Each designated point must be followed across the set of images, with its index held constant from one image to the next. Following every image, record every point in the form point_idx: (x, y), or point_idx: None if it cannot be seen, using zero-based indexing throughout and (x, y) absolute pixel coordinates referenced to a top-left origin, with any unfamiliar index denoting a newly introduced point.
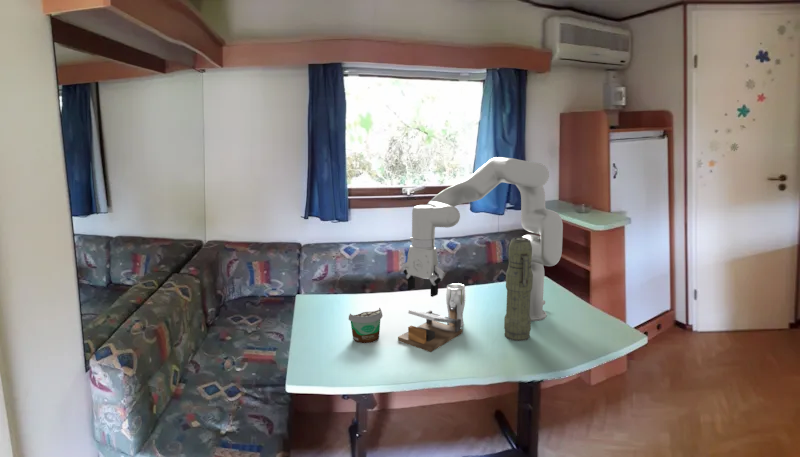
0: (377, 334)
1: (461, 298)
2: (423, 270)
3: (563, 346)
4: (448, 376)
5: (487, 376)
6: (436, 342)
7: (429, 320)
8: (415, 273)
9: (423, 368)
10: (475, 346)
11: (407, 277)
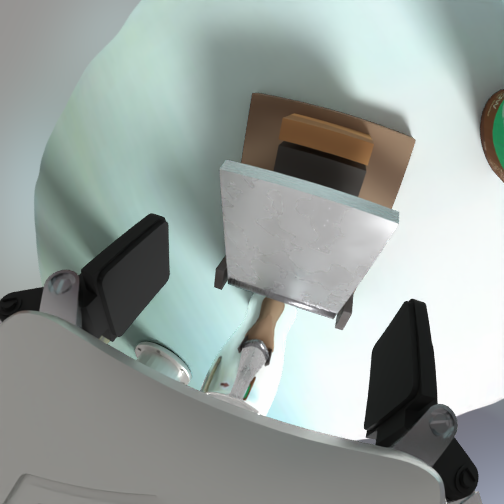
0: (488, 127)
1: (212, 364)
2: (12, 443)
3: (68, 258)
4: (148, 4)
5: (86, 67)
6: (254, 145)
7: None
8: (240, 474)
9: None
10: (164, 195)
11: (439, 418)
